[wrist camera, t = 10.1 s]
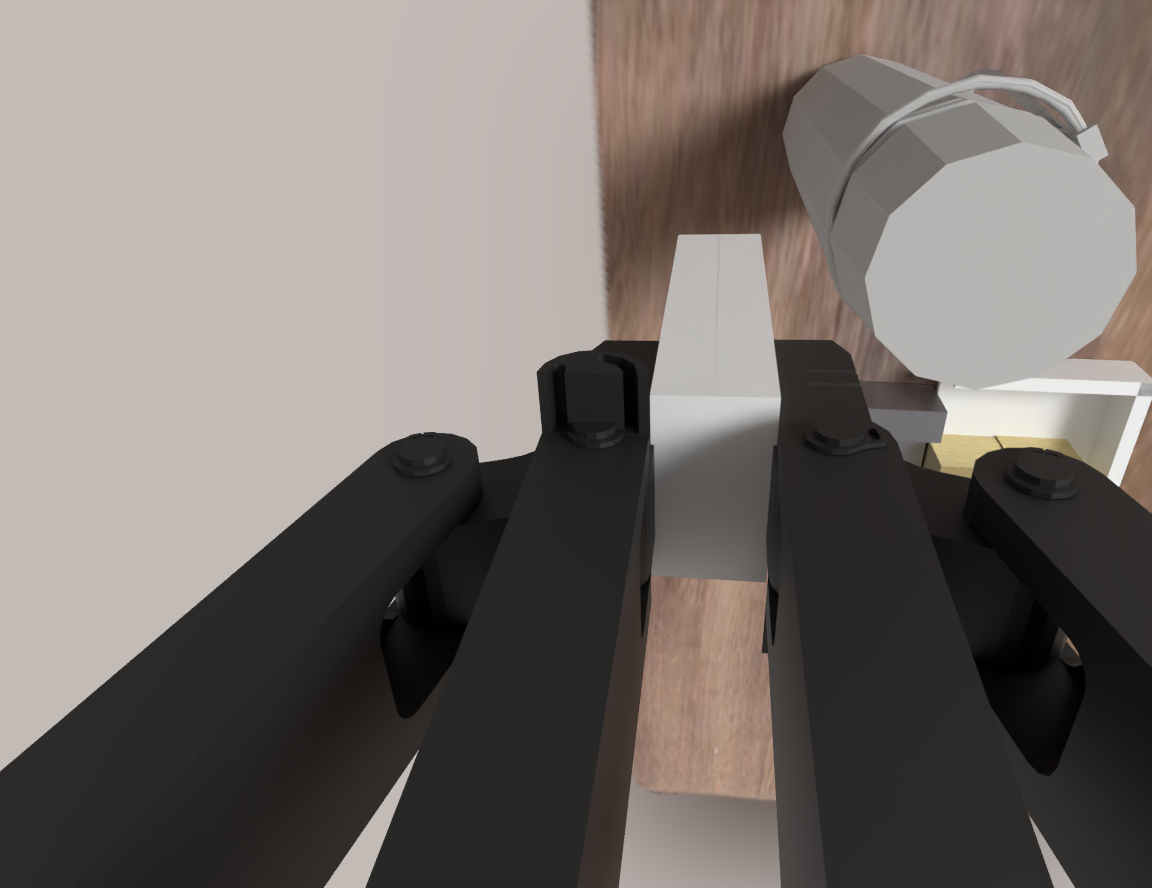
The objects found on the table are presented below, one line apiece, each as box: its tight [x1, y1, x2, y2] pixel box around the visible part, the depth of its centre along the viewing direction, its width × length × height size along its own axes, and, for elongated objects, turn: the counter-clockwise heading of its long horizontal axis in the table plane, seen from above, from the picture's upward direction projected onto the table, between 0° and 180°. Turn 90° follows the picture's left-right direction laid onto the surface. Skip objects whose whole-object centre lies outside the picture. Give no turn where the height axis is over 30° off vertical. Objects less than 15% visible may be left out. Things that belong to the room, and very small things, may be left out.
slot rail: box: [859, 381, 948, 467], centre depth 50 cm, size 10×12×4 cm
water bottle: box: [782, 54, 1137, 390], centre depth 31 cm, size 9×8×25 cm
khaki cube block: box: [995, 435, 1084, 462], centre depth 48 cm, size 4×4×4 cm
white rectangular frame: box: [936, 359, 1152, 487], centre depth 49 cm, size 14×10×3 cm
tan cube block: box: [921, 434, 1002, 478], centre depth 48 cm, size 4×4×4 cm
